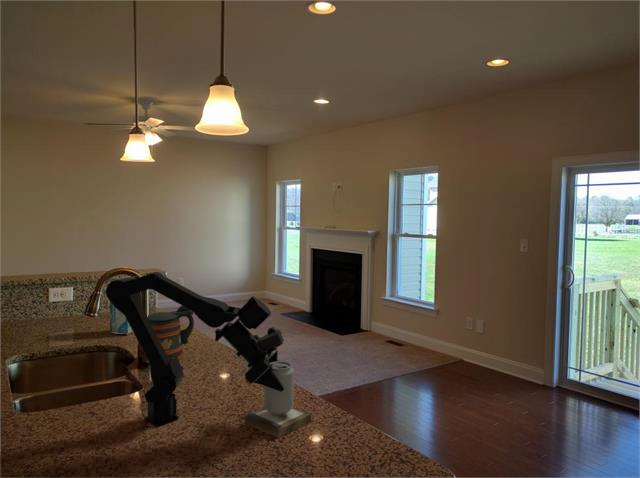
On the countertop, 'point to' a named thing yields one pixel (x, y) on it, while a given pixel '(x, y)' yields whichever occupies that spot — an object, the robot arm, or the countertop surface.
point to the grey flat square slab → (277, 421)
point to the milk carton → (118, 319)
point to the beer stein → (172, 330)
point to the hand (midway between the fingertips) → (284, 384)
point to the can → (282, 400)
